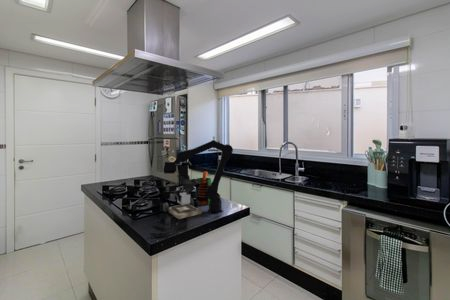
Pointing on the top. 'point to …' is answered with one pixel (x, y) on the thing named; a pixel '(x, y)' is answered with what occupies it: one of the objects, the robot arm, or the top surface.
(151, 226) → the top surface
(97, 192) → the top surface
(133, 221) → the top surface
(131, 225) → the top surface
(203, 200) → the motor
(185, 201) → the block
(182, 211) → the chassis
